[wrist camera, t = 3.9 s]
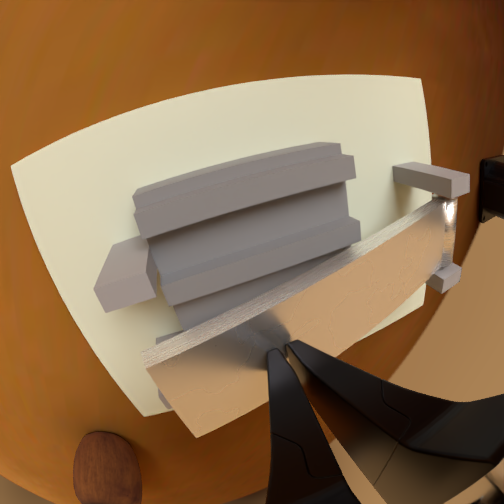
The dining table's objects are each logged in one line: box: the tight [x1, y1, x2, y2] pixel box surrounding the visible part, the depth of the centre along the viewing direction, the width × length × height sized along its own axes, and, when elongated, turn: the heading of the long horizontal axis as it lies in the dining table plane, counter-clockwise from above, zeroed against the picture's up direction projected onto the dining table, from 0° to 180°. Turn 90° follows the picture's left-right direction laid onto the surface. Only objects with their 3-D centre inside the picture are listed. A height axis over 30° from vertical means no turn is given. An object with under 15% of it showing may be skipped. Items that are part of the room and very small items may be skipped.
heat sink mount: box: [11, 75, 470, 417], centre depth 14 cm, size 24×18×6 cm
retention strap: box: [141, 194, 457, 438], centre depth 11 cm, size 17×4×2 cm, turn 102°
